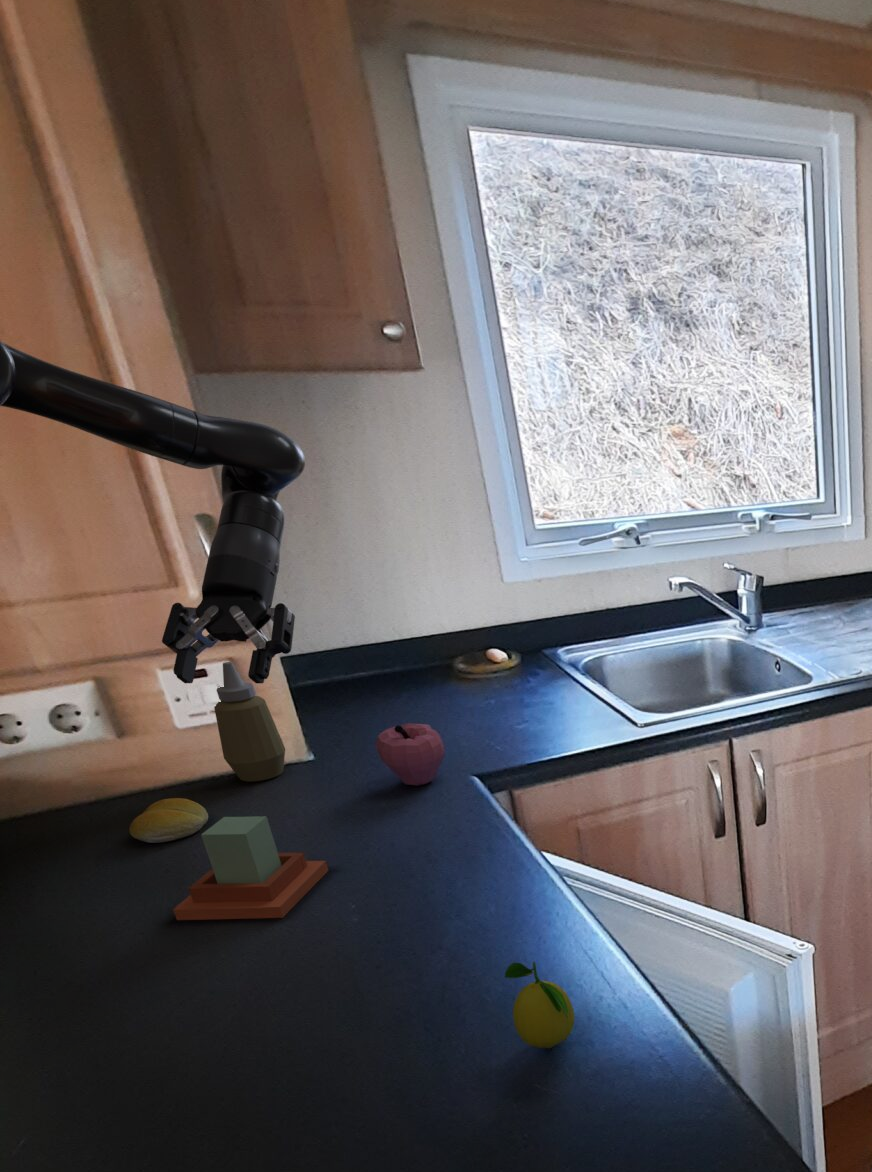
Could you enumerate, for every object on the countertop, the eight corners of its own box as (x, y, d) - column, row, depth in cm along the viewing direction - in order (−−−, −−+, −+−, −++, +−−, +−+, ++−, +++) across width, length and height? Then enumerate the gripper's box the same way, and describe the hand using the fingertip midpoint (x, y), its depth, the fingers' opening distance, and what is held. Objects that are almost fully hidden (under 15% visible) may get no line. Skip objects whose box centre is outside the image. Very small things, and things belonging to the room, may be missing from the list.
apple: (457, 785, 161) (443, 723, 156) (396, 799, 156) (380, 736, 151) (438, 766, 167) (424, 706, 163) (379, 779, 162) (363, 718, 158)
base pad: (282, 917, 125) (274, 892, 123) (176, 920, 124) (167, 894, 122) (328, 870, 136) (321, 846, 134) (231, 872, 135) (223, 848, 133)
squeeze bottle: (221, 777, 162) (184, 664, 154) (276, 761, 168) (243, 652, 160) (246, 789, 158) (209, 674, 150) (301, 773, 164) (269, 661, 156)
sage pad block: (264, 893, 127) (245, 833, 124) (220, 894, 127) (200, 834, 123) (284, 873, 132) (266, 816, 128) (242, 874, 131) (223, 816, 128)
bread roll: (122, 847, 141) (112, 820, 139) (156, 819, 148) (147, 793, 147) (190, 843, 142) (181, 816, 140) (220, 815, 150) (211, 790, 148)
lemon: (516, 1032, 106) (498, 949, 101) (577, 1021, 108) (563, 939, 103) (515, 1073, 100) (497, 986, 96) (580, 1060, 102) (564, 975, 98)
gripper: (166, 551, 132) (139, 666, 127) (284, 552, 133) (262, 666, 128) (202, 584, 139) (179, 694, 134) (314, 585, 140) (295, 694, 135)
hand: (220, 680), depth 131 cm, fingers open, 8 cm apart
